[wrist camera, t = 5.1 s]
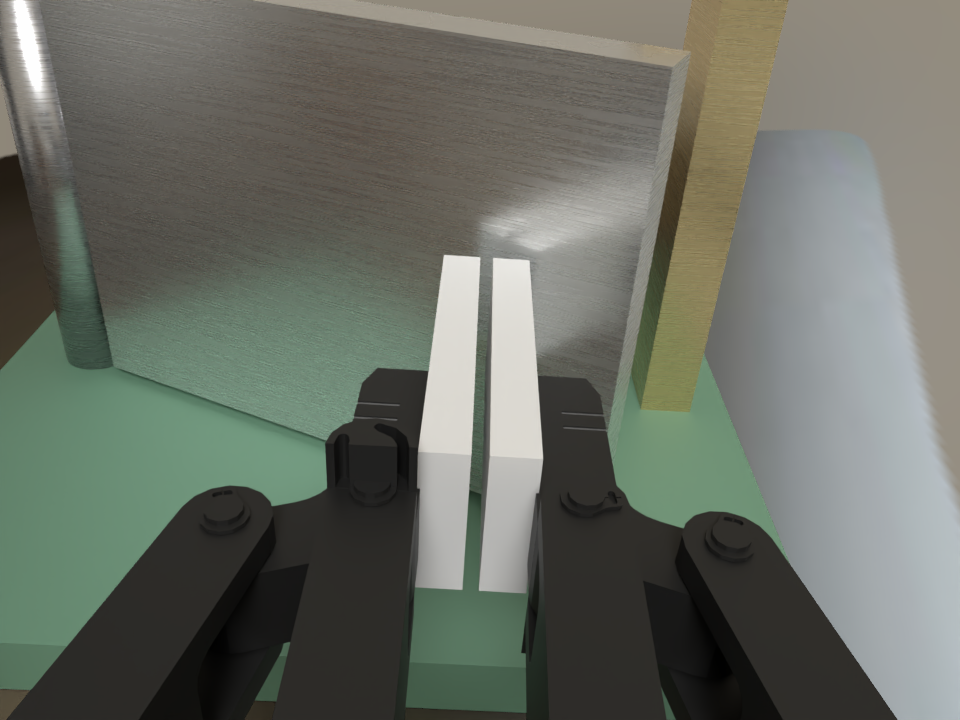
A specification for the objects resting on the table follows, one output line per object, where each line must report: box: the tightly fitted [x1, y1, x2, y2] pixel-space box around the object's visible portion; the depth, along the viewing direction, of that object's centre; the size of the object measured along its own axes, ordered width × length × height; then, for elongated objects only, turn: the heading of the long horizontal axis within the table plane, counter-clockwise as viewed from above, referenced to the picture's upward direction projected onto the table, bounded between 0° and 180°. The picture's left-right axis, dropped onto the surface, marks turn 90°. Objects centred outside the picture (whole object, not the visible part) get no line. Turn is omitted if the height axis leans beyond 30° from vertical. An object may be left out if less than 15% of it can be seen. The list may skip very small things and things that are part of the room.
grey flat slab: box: [39, 0, 691, 494], centre depth 20 cm, size 15×2×11 cm, turn 66°
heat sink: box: [0, 0, 788, 412], centre depth 27 cm, size 19×11×13 cm, turn 90°
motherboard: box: [0, 310, 790, 720], centre depth 27 cm, size 22×22×2 cm
